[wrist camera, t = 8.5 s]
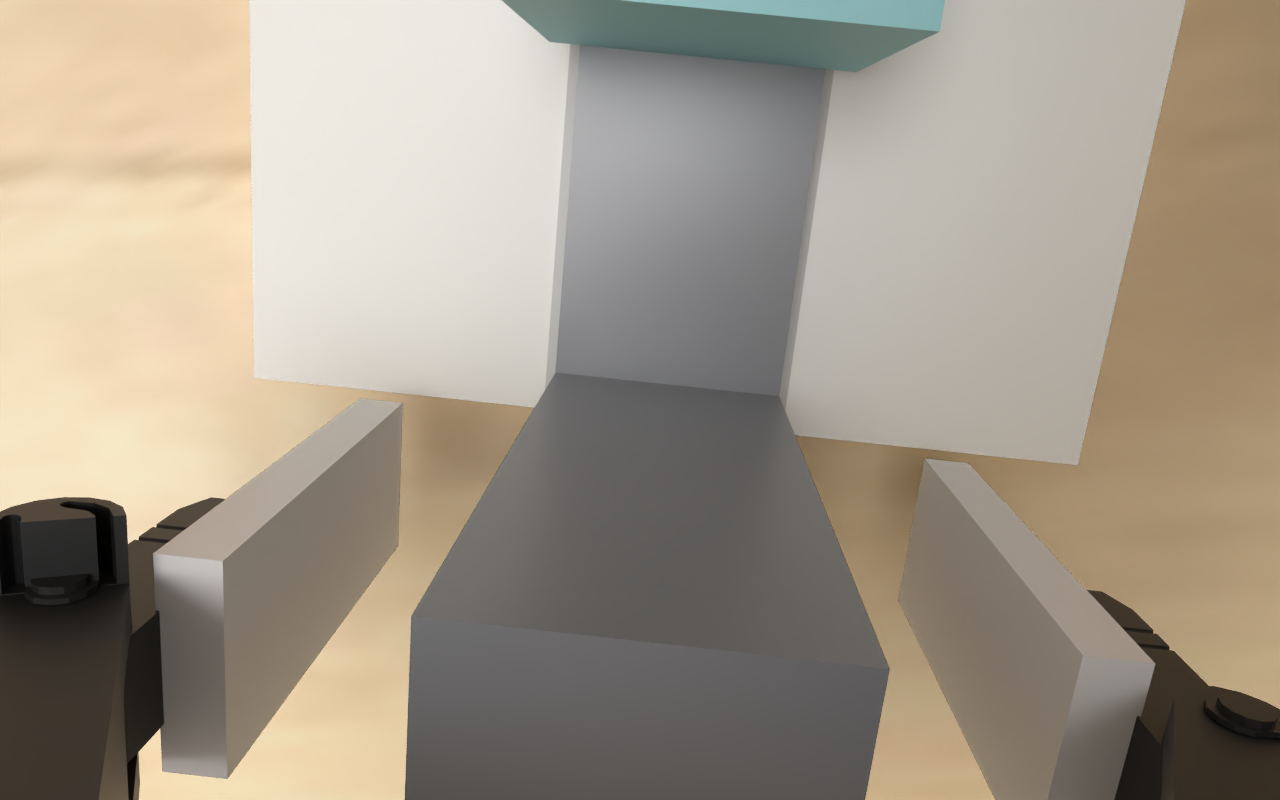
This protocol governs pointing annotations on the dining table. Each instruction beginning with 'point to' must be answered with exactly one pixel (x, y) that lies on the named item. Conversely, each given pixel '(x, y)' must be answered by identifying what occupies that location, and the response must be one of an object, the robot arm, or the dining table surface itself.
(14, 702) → the robot arm
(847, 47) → the block
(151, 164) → the dining table surface
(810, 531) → the grey l-shaped piece
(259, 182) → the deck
